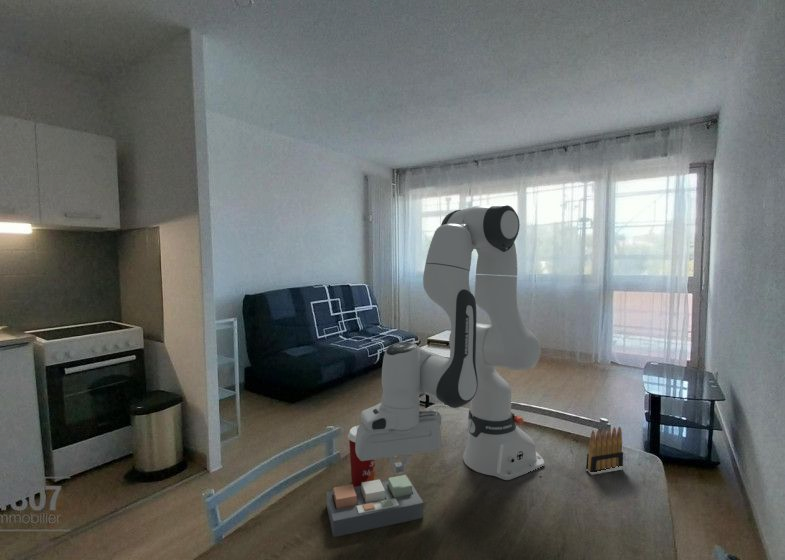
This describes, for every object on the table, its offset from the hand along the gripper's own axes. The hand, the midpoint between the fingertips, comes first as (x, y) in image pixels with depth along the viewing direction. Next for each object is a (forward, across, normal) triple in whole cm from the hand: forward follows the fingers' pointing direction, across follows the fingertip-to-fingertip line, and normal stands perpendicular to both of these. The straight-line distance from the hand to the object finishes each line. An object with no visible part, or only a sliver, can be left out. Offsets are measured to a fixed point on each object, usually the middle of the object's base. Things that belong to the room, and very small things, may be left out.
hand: (398, 471), depth 88 cm
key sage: (+5, 0, 0) cm, 5 cm away
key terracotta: (+5, +13, 0) cm, 14 cm away
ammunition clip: (+7, -58, +3) cm, 59 cm away
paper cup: (+8, +6, -10) cm, 14 cm away
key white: (+5, +6, 0) cm, 8 cm away
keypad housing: (+8, +6, +1) cm, 10 cm away
